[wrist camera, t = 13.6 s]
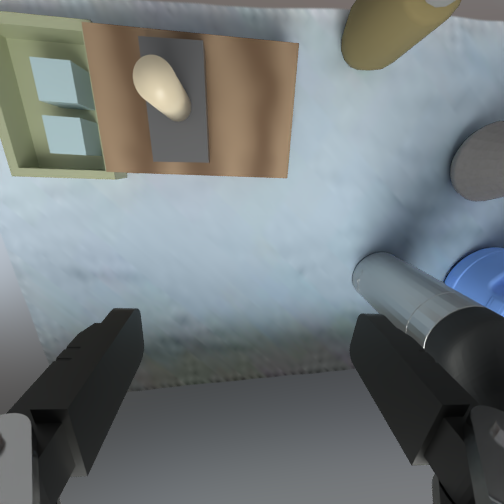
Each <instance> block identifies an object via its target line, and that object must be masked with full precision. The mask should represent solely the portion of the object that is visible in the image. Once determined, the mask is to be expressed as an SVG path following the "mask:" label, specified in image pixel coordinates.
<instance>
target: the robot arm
mask: <svg viewBox="0 0 504 504" xmlns="http://www.w3.org/2000/svg"><path fill="white" fill-rule="evenodd" d="M352 281H353V286H354V288H355V289H356V291H357V292H358V293H359V294H360V295H361V296H362V297H363V298H364V299H365V300H366V301H367V302H368V303H369V304H370V305H371V306H372V307H373V308H374V309H375V310H376V311H377V312H378V313H379V314H360V315H359V316H358V319H357V322H356V326H355V330H354V333H353V337H352V340H351V344H350V357H351V360H352V363H353V365H354V367H355V368H356V370H357V372H358V373H359V375H360V377H361V379H362V380H363V382H364V384H365V385H366V387H367V389H368V391H369V392H370V394H371V396H372V398H373V399H374V401H375V403H376V404H377V406H378V408H379V410H380V411H381V413H382V415H383V417H384V418H385V420H386V422H387V424H388V425H389V427H390V429H391V430H392V432H393V434H394V436H395V437H396V439H397V441H398V442H399V444H400V446H401V448H402V449H403V451H404V453H405V454H406V456H407V458H408V460H409V462H410V463H411V465H430V466H431V468H432V469H433V471H434V472H435V474H434V476H433V479H432V497H433V498H432V499H433V504H504V317H503V316H501V315H499V314H497V313H496V312H494V311H492V310H490V309H488V308H487V307H485V306H483V305H481V304H479V303H478V302H476V301H474V300H472V299H470V298H469V297H467V296H465V295H463V294H461V293H460V292H458V291H456V290H454V289H452V288H451V287H449V286H447V285H446V284H445V283H443V282H442V281H440V280H438V279H436V278H434V277H433V276H431V275H429V274H427V273H425V272H423V271H422V270H420V269H418V268H416V267H414V266H413V265H411V264H409V263H407V262H405V261H404V260H401V259H399V258H397V257H395V256H393V255H391V254H390V253H386V252H378V253H374V254H371V255H369V256H367V257H366V258H364V259H363V260H362V261H361V262H360V263H359V264H358V265H357V267H356V269H355V270H354V273H353V279H352ZM143 352H144V340H143V331H142V323H141V314H140V311H139V309H132V308H114V309H112V311H111V312H110V313H109V314H108V315H107V316H106V318H105V319H104V320H103V321H102V323H94V324H93V325H91V326H90V327H88V328H87V329H85V330H84V331H82V332H80V333H79V334H78V335H77V336H76V337H75V338H74V339H73V340H72V341H71V343H70V344H69V345H68V346H67V348H66V350H63V351H62V353H61V354H60V355H59V356H58V357H57V358H56V361H53V362H52V364H51V365H50V366H49V367H48V368H47V369H46V370H45V371H44V373H43V374H42V375H41V376H40V377H39V378H38V379H37V380H36V381H35V382H34V383H33V385H32V386H31V387H30V388H29V389H28V390H27V391H26V392H25V393H24V395H23V396H22V397H21V398H20V399H19V400H18V401H17V403H16V404H14V406H13V407H12V408H11V409H10V410H9V411H8V412H7V413H6V414H3V415H0V504H61V501H60V495H61V493H62V491H63V489H64V487H65V485H66V483H67V481H68V479H69V478H70V477H79V476H80V477H81V476H88V474H89V472H90V470H91V468H92V465H93V463H94V461H95V459H96V457H97V455H98V452H99V450H100V448H101V446H102V444H103V442H104V440H105V438H106V436H107V433H108V431H109V429H110V427H111V425H112V423H113V420H114V418H115V416H116V414H117V412H118V410H119V407H120V406H121V403H122V401H123V399H124V397H125V395H126V393H127V391H128V389H129V386H130V384H131V382H132V380H133V378H134V376H135V374H136V371H137V369H138V367H139V365H140V363H141V360H142V357H143Z"/></svg>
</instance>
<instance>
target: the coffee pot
mask: <svg viewBox="0 0 504 504" xmlns="http://www.w3.org/2000/svg"><path fill="white" fill-rule="evenodd" d="M450 177H451V181H452V185H453V187H454V189H455V190H456V192H457V193H459V194H460V195H461V196H462V197H464V198H465V199H468V200H471V201H486V200H491V199H495V198H499V197H503V196H504V121H498V122H495V123H492V124H488V125H486V126H484V127H483V128H481V129H479V130H478V131H476V132H474V133H473V134H472V135H471V136H469V137H468V138H467V139H466V140H465V141H464V142H463V144H462V145H461V147H460V148H459V149H458V151H457V152H456V154H455V156H454V158H453V160H452V163H451V167H450Z"/></svg>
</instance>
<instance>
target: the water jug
mask: <svg viewBox="0 0 504 504" xmlns="http://www.w3.org/2000/svg"><path fill="white" fill-rule="evenodd" d="M444 283H445V284H446V285H447V286H449V287H451V288H452V289H454V290H456V291H458V292H460V293H461V294H463V295H465V296H467V297H469V298H470V299H472V300H474V301H476V302H478V303H479V304H481V305H483V306H485V307H487V308H488V309H490V310H492V311H494V312H496V313H497V314H499V315H501V316H503V317H504V248H499V247H492V248H485V249H482V250H479V251H476V252H474V253H472V254H470V255H468V256H467V257H465V258H464V259H462V260H461V261H460V262H459V263H458V264H457V265H456V266H455V267H454V268H453V269H452V270H451V271H450V273H449V274H448V276H447V278H446V280H445V282H444Z"/></svg>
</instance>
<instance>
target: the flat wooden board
mask: <svg viewBox="0 0 504 504" xmlns="http://www.w3.org/2000/svg"><path fill="white" fill-rule="evenodd" d="M81 23H82V29H83V35H84V41H85V47H86V53H87V59H88V65H89V71H90V77H91V82H92V88H93V94H94V100H95V106H96V112H97V118H98V124H99V130H100V136H101V142H102V148H103V154H104V160H105V166H106V172H124V173H153V174H181V175H210V176H238V177H267V178H287V174H288V163H289V151H290V140H291V128H292V117H293V105H294V94H295V82H296V71H297V59H298V48H299V43H291V42H280V41H270V40H260V39H250V38H240V37H230V36H220V35H210V34H200V33H190V32H180V31H170V30H160V29H150V28H140V27H129V26H119V25H109V24H99V23H89V22H81ZM138 36H145V37H160V38H175V39H189V40H203V43H204V48H205V60H206V83H207V106H208V129H209V152H210V163H201V162H153V155H152V146H151V138H150V130H149V122H148V114H147V106H146V100H145V99H143V98H142V97H141V96H140V94H139V93H138V92H137V90H136V88H135V85H134V82H133V69H134V66H135V64H136V62H137V61H138V60H139V59H140V58H141V57H140V49H139V41H138Z"/></svg>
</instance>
